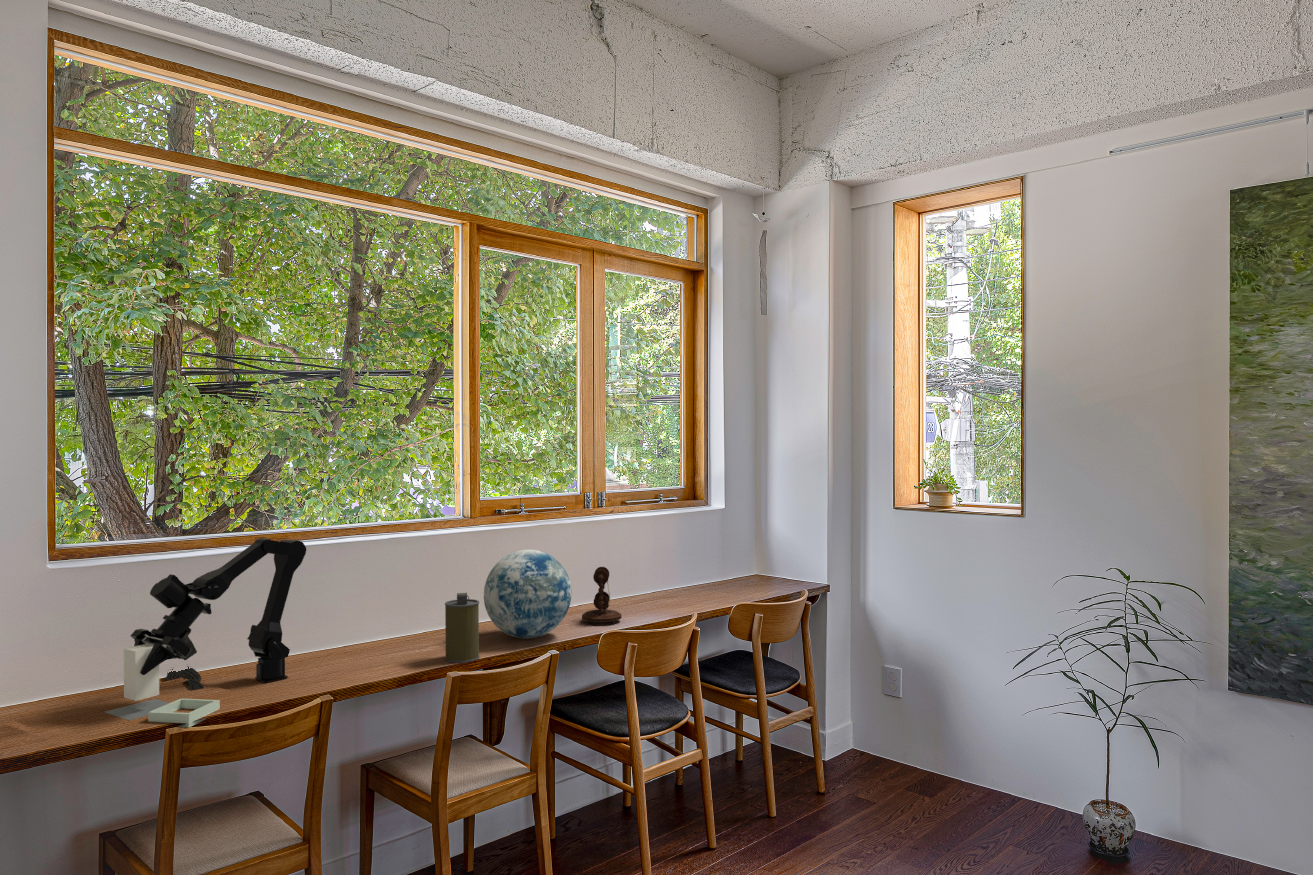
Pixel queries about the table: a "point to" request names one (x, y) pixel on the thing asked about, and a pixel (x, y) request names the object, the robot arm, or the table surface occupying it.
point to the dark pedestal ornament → (601, 601)
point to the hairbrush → (187, 674)
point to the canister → (462, 629)
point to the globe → (527, 594)
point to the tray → (170, 716)
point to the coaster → (137, 709)
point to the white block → (133, 680)
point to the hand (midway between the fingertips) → (135, 672)
